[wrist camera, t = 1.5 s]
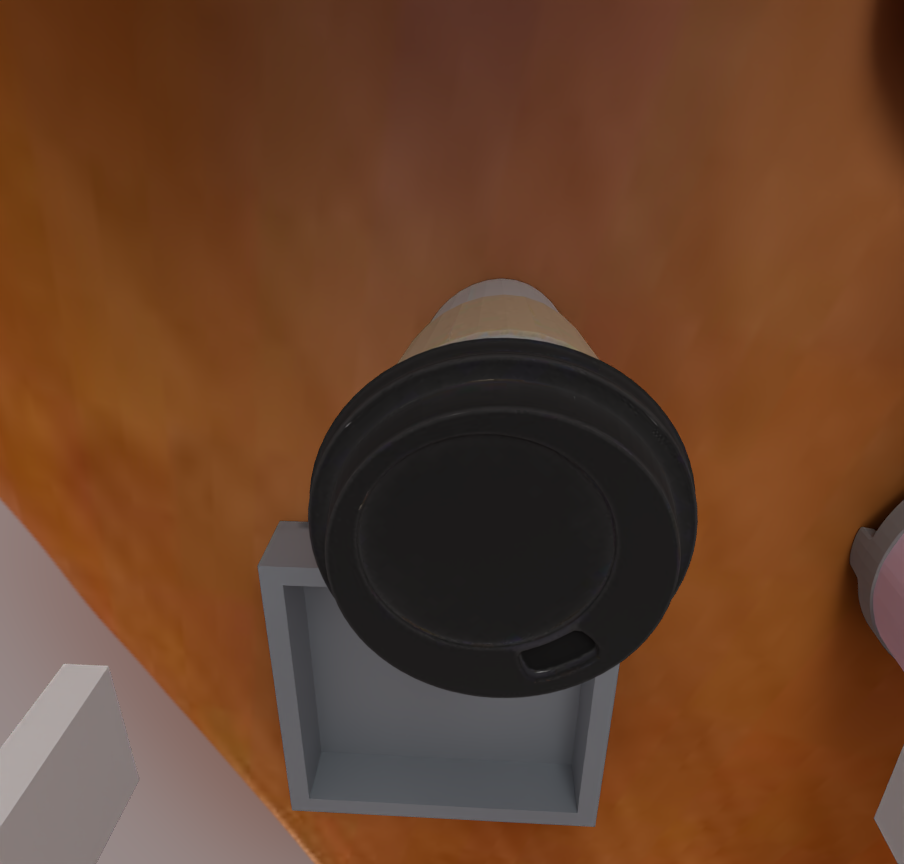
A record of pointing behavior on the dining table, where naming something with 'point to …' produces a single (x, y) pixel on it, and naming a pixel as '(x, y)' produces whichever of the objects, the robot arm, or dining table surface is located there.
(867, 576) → the blender
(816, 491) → the dining table surface
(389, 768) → the tray
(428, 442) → the coffee cup
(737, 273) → the dining table surface
